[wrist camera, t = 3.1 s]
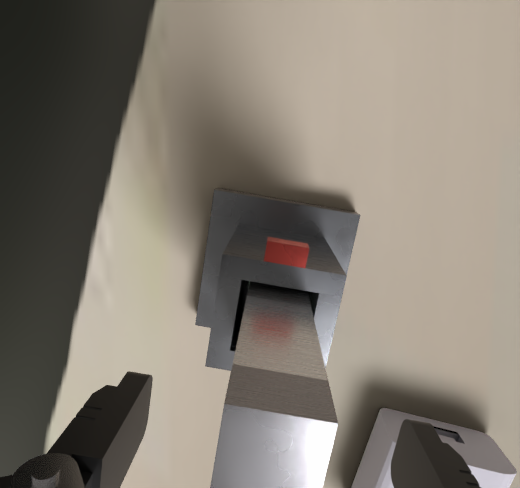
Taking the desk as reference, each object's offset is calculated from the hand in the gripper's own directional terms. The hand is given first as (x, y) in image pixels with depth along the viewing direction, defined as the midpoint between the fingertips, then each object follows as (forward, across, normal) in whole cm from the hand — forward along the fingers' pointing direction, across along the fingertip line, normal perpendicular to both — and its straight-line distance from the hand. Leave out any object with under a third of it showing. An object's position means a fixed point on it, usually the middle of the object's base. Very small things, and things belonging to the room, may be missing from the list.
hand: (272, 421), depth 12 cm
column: (+15, 0, 0) cm, 15 cm away
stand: (+17, 0, 0) cm, 17 cm away
